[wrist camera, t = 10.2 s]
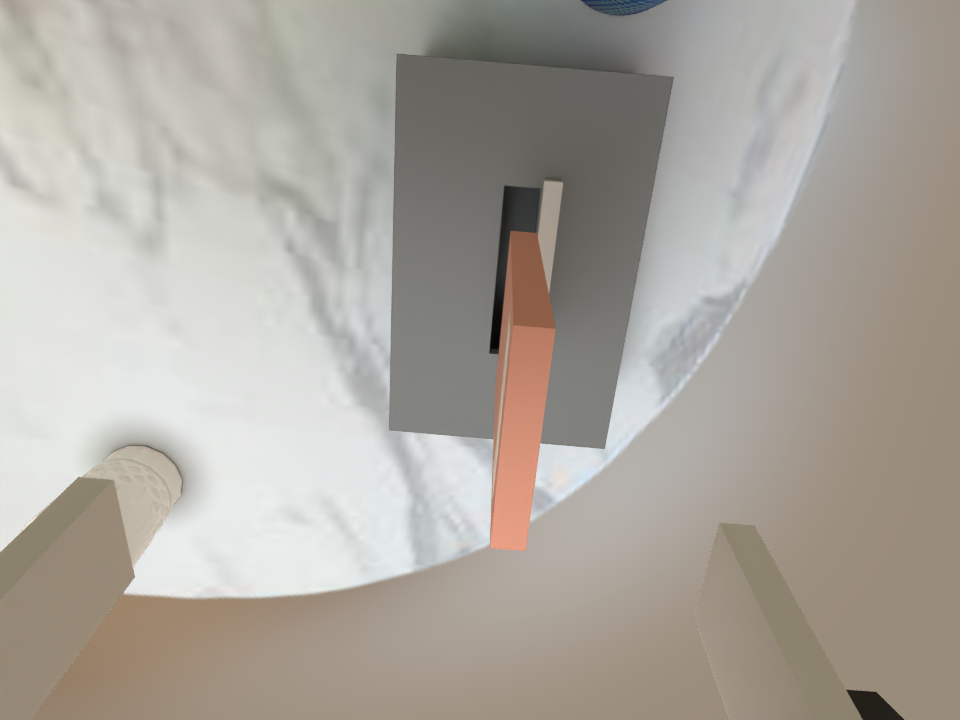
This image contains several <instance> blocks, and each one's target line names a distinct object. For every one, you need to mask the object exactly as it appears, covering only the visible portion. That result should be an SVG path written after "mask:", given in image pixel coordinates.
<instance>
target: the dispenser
mask: <svg viewBox="0 0 960 720" xmlns="http://www.w3.org/2000/svg"><path fill="white" fill-rule="evenodd" d="M673 78H674V77H667V76H655V75H643V74H631V73H619V72H607V71H595V70H583V69H572V68H560V67H548V66H536V65H524V64H512V63H500V62H489V61H477V60H465V59H453V58H441V57H429V56H417V55H406V54H397V63H396V113H395V162H394V212H393V261H392V310H391V360H390V409H389V430H392V431H403V432H415V433H427V434H438V435H450V436H461V437H473V438H485V439H494V413H495V386H496V376H497V366H498V355H499V345H500V335H501V325H502V314H503V304H504V294H505V283H506V273H507V263H508V253H509V242H510V232H511V231H518V232H530V233H537V236H538V241H539V247H540V252H541V257H542V262H543V267H544V272H545V277H546V282H547V287H548V292H549V297H550V302H551V307H552V313H553V318H554V323H555V328H556V330H555V338H554V345H553V352H552V360H551V367H550V375H549V382H548V389H547V397H546V404H545V411H544V419H543V426H542V434H541V441H540V443H543V444H554V445H566V446H578V447H589V448H601V449H605V444H606V439H607V434H608V428H609V423H610V417H611V412H612V407H613V401H614V396H615V390H616V385H617V380H618V374H619V369H620V363H621V358H622V353H623V347H624V342H625V337H626V331H627V326H628V320H629V315H630V310H631V304H632V299H633V293H634V288H635V283H636V277H637V272H638V266H639V261H640V256H641V250H642V245H643V240H644V234H645V229H646V223H647V218H648V213H649V207H650V202H651V196H652V191H653V186H654V180H655V175H656V169H657V164H658V159H659V153H660V148H661V142H662V137H663V132H664V126H665V121H666V116H667V110H668V105H669V99H670V94H671V89H672V83H673Z"/></svg>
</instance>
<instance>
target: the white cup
mask: <svg viewBox="0 0 960 720" xmlns="http://www.w3.org/2000/svg"><path fill="white" fill-rule="evenodd" d="M83 478H97V479H111V480H114V483H115V487H116V492H117V497H118V501H119V506H120V510H121V515H122V520H123V524H124V529H125V534H126V538H127V543H128V547H129V552H130V557H131V561H132V566H133V567H134V566H135V564H136V563H137V561H138V560H139V559H140V557H141V556H142V554H143V553H144V551H145V550H146V548H147V547H148V546H149V544H150V543H151V541H152V540H153V538H154V536H155V534H156V533H157V532H158V530H159V529H160V527H161V526H162V524H163V522H164V521H165V519H166V516H167V514H168V513H169V511H170V509H171V508H172V506H173V505H174V504H175V502H176V501H177V499H178V498H179V496H180V495H181V489H182V478H181V476H180V474H179V472H178V470H177V467H176V465H174V464H173V463H172V462H171V461H170V460H169V459H168V458H167V457H166V456H165V455H164V454H162V453H160V452H158V451H156V450H153V449H151V448H149V447H146V446H126V447H124V448H121V449H119V450H116V451H114V452H113V453H111V454H110V455H109V456H108V457H107V458H106V459H104V460H103V461H102V462H101V463H100V464H99V465H97V466H96V467H94V468H93V469H91V470H90V471H88V472H87V473H86V474H85V475H84V476H83ZM59 496H60V495H59ZM52 502H53V501H52ZM52 502H51V503H52ZM51 503H50V504H51ZM50 504H49V505H50ZM49 505H48V506H49ZM48 506H46V507H45V508H44V509H43V510H42V511H41V512H39V513H38V514H37V515H36V516H35V517H33V518H32V519H31V520H30V521H29V522H28V523H27V524H26V525H25V526H24V528H23V530H24V529H25V528H26V527H27V526H28V525H29V524H30V523H31V522H33V521H34V520H35V519H36V518H37V517H38V516H39V515H40V514H41V513H42V512H43V511H44V510H45V509H46V508H47V507H48ZM23 530H22V531H23Z"/></svg>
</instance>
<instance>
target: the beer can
mask: <svg viewBox="0 0 960 720" xmlns="http://www.w3.org/2000/svg"><path fill="white" fill-rule="evenodd" d="M581 1H582V2H584V3H585V4H587V5H588V6H589V7H591V8H593V9H595V10H597V11H600V12H603V13H606V14H611V15H631V14H636V13H639V12H643V11H645V10H648V9H650V8H652V7H654V6H656V5H658V4H661V3H663V2H665V1H667V0H581Z"/></svg>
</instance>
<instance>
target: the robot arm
mask: <svg viewBox="0 0 960 720" xmlns="http://www.w3.org/2000/svg"><path fill="white" fill-rule="evenodd" d="M134 577H135V575H134V570H133V566H132V561H131V557H130V552H129V547H128V543H127V538H126V534H125V529H124V524H123V520H122V515H121V510H120V506H119V501H118V497H117V492H116V487H115V483H114V480H111V479H97V478H83V477H78V478H77V479H76V480H75V481H74V482H73V483H72V484H71V485H70V486H69V487H68V488H67V489H66V490H65V491H64V492H63V493H62V494H61V495H60V496H58V497H57V498H56V499H55V500H54V501H53V502H52V503H51V504H50V505H49V506H48V507H47V508H46V509H45V510H44V511H43V512H42V513H41V514H40V515H39V516H38V517H37V518H36V519H35V520H34V521H33V522H31V523H30V524H29V525H28V526H27V527H26V528H25V529H24V530H23V531H22V532H21V533H20V534H19V535H18V536H17V537H16V538H15V539H14V540H13V541H12V542H11V543H10V544H9V545H8V546H7V547H6V548H5V549H3V550H2V551H1V552H0V720H32V718H33V717H34V715H35V714H36V713H37V711H38V710H39V709H40V707H41V706H42V705H43V703H44V702H45V700H46V699H47V698H48V696H49V695H50V694H51V692H52V691H53V689H54V688H55V687H56V685H57V684H58V682H59V681H60V680H61V678H62V677H63V676H64V674H65V673H66V671H67V670H68V669H69V667H70V666H71V664H72V663H73V662H74V660H75V659H76V658H77V656H78V655H79V653H80V652H81V651H82V649H83V648H84V646H85V645H86V644H87V642H88V641H89V640H90V638H91V637H92V635H93V634H94V633H95V631H96V630H97V628H98V627H99V626H100V624H101V623H102V622H103V620H104V619H105V617H106V616H107V615H108V613H109V612H110V610H111V609H112V608H113V606H114V605H115V604H116V602H117V601H118V599H119V598H120V597H121V595H122V594H123V593H124V591H125V590H126V588H127V587H128V586H129V584H130V583H131V581H132V580H133V579H134ZM693 618H694V621H695V624H696V627H697V629H698V632H699V635H700V638H701V641H702V644H703V646H704V649H705V652H706V655H707V658H708V660H709V664H710V666H711V669H712V672H713V675H714V678H715V680H716V684H717V686H718V689H719V692H720V695H721V698H722V701H723V704H724V706H725V709H726V712H727V715H728V718H729V720H904V719H903V718H902V717H901V716H900V715H899V714H898V713H897V712H896V711H895V710H894V709H893V708H892V707H891V706H890V705H889V704H888V703H887V702H886V701H885V700H884V699H883V698H882V697H881V696H880V695H879V694H877V692H869V691H855V690H846V689H845V687H844V685H843V683H842V682H841V680H840V678H839V676H838V674H837V673H836V671H835V669H834V667H833V665H832V664H831V662H830V660H829V658H828V656H827V655H826V653H825V651H824V649H823V647H822V646H821V644H820V642H819V640H818V639H817V637H816V635H815V633H814V631H813V629H812V628H811V626H810V624H809V622H808V620H807V619H806V617H805V615H804V613H803V611H802V610H801V608H800V606H799V604H798V603H797V601H796V599H795V597H794V595H793V594H792V592H791V590H790V588H789V586H788V585H787V583H786V581H785V579H784V577H783V576H782V574H781V572H780V570H779V568H778V567H777V565H776V563H775V561H774V559H773V558H772V556H771V554H770V552H769V551H768V549H767V547H766V545H765V543H764V541H763V540H762V538H761V536H760V534H759V532H758V531H757V529H756V527H755V526H752V525H740V524H726V523H719V526H718V530H717V534H716V537H715V541H714V544H713V547H712V551H711V555H710V559H709V562H708V566H707V569H706V572H705V576H704V580H703V583H702V587H701V590H700V595H699V598H698V601H697V605H696V609H695V612H694V616H693Z"/></svg>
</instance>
